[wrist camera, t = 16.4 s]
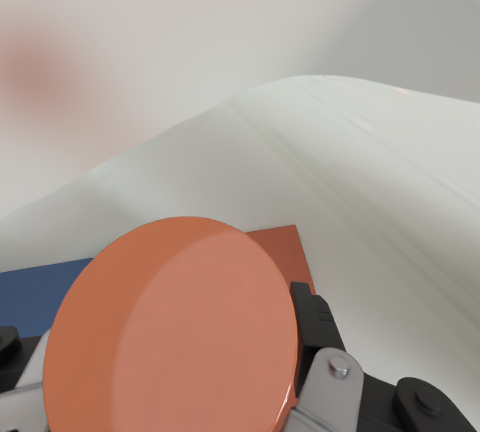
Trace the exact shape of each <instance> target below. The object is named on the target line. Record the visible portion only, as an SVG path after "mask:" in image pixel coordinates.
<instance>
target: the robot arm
mask: <svg viewBox="0 0 480 432" xmlns="http://www.w3.org/2000/svg"><path fill="white" fill-rule="evenodd" d="M289 293H290V296H291V299H292V302H293V306H294V311H295V316H296V322H297V336H298V348H297V363H296V369H295V374H294V380H293V381H294V390H295V398H298V400H297V403H296V405H295V407H293V406H292V407H291V408H290V410H289V412H288V414H287V416H286V419H285V421H284V423H283V426H282V428H281V430H280V432H477V431H476V430H475V428H474V427H473V426H472V425H471V424H470V422H469V421H468V420H467V419H466V418H465V416H464V415H463V414H462V413H461V412H460V410H459V409H458V408H457V407H456V406H455V404H454V403H453V402H452V401H451V400H450V399H449V398H448V397H447V396H446V395H445V394H444V393H443V392H441V391H440V390H439V389H437V388H436V387H434V386H433V385H431V384H429V383H427V382H425V381H423V380H420V379H417V378H412V377H405V378H402V379H400V380H399V381H398V383H397V386H394V385H391V384H389V383H386V382H384V381H381V380H379V379H376V378H374V377H372V376H370V375H368V374H366V373H365V372H363V370H362V368H361V366H360V364H359V363H358V362H357V361H356V360H355V359H354V358H353V357H352V356H351V355H349V354H348V353H347V352H346V350H345V347H344V344H343V342H342V339H341V337H340V334H339V331H338V329H337V326H336V324H335V322H334V318H333V316H332V314H331V311H330V308H329V305H328V303H327V302H326V301H325V300H324V299H323V298H322V297H321V296H320V295H312V294H311V291H310V287H309V284H308V283H306V282H295V281H291V284H290V291H289ZM50 330H51V328H50V329H49V330H47V331H46V332H45V333H44V335H41V336H34V337H26V338H20V336H19V333H18V330H17V328H16V327H13V326H1V327H0V432H51V431H50V429H49V426H48V422H47V418H46V413H45V409H44V401H43V389H42V379H43V363H44V357H45V350H46V345H47V341H48V338H49V334H50Z"/></svg>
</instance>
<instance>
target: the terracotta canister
mask: <svg viewBox="0 0 480 432" xmlns="http://www.w3.org/2000/svg"><path fill="white" fill-rule="evenodd" d="M297 348H298V336H297V322H296V316H295V311H294V306H293V302H292V299H291V296H290V293H289V289H288V287H287V285H286V283H285V281H284V278H283V276H282V274H281V273H280V271H279V269H278V268H277V266H276V264H275V263H274V261H273V260H272V259H271V258H270V256H269V255H268V254H267V253H266V251H265V250H264V249H263V248H262V247H261V246H260V245H259V244H258V243H256V242H255V241H254V240H253V239H252V238H250V237H249V236H248V235H246V234H245V233H243V232H241V231H240V230H238V229H236V228H234V227H232V226H230V225H227V224H225V223H222V222H220V221H216V220H212V219H208V218H201V217H173V218H167V219H162V220H157V221H154V222H151V223H148V224H145V225H143V226H140V227H138V228H136V229H134V230H132V231H130V232H128V233H126V234H125V235H123V236H121V237H120V238H118V239H117V240H115V241H114V242H112V243H111V244H110V245H108V246H107V247H106V248H105V249H104V250H102V251H101V252H100V253H99V254H98V255H97V256H96V257H95V258H94V259H93V260H92V261H91V262H90V263H89V264H88V265H87V266H86V267H85V268H84V270H83V271H82V272H81V274H80V275H79V276H78V277H77V279H76V280H75V281H74V283H73V284H72V286H71V288H70V289H69V291H68V292H67V294H66V296H65V297H64V299H63V302H62V304H61V306H60V308H59V310H58V312H57V314H56V317H55V319H54V322H53V325H52V327H51V330H50V334H49V338H48V341H47V345H46V350H45V357H44V363H43V379H42V389H43V401H44V409H45V413H46V418H47V422H48V426H49V429H50V431H51V432H273V430H274V429H275V427H276V425H277V424H278V422H279V419H280V417H281V415H282V413H283V410H284V408H285V406H286V403H287V401H288V397H289V394H290V391H291V387H292V384H293V380H294V374H295V369H296V363H297Z"/></svg>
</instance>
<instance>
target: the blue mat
mask: <svg viewBox="0 0 480 432" xmlns="http://www.w3.org/2000/svg"><path fill="white" fill-rule="evenodd" d="M94 258H95V257H94ZM94 258H88V259H82V260H76V261H70V262H64V263H58V264H52V265H46V266H39V267H33V268H27V269H21V270H15V271H9V272H3V273H0V327H1V326H13V327H16V328H17V330H18V333H19V336H20V338H26V337H34V336H41V335H44V333H45V332H46V331H47V330H49V329H50V328H51V327H52V325H53V322H54V319H55V317H56V314H57V312H58V310H59V308H60V306H61V304H62V302H63V299H64V297H65V296H66V294H67V292H68V291H69V289H70V288H71V286H72V284H73V283H74V281H75V280H76V279H77V277H78V276H79V275H80V274H81V272H82V271H83V270H84V268H85V267H86V266H87V265H88V264H89V263H90V262H91V261H92V260H93V259H94Z"/></svg>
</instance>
